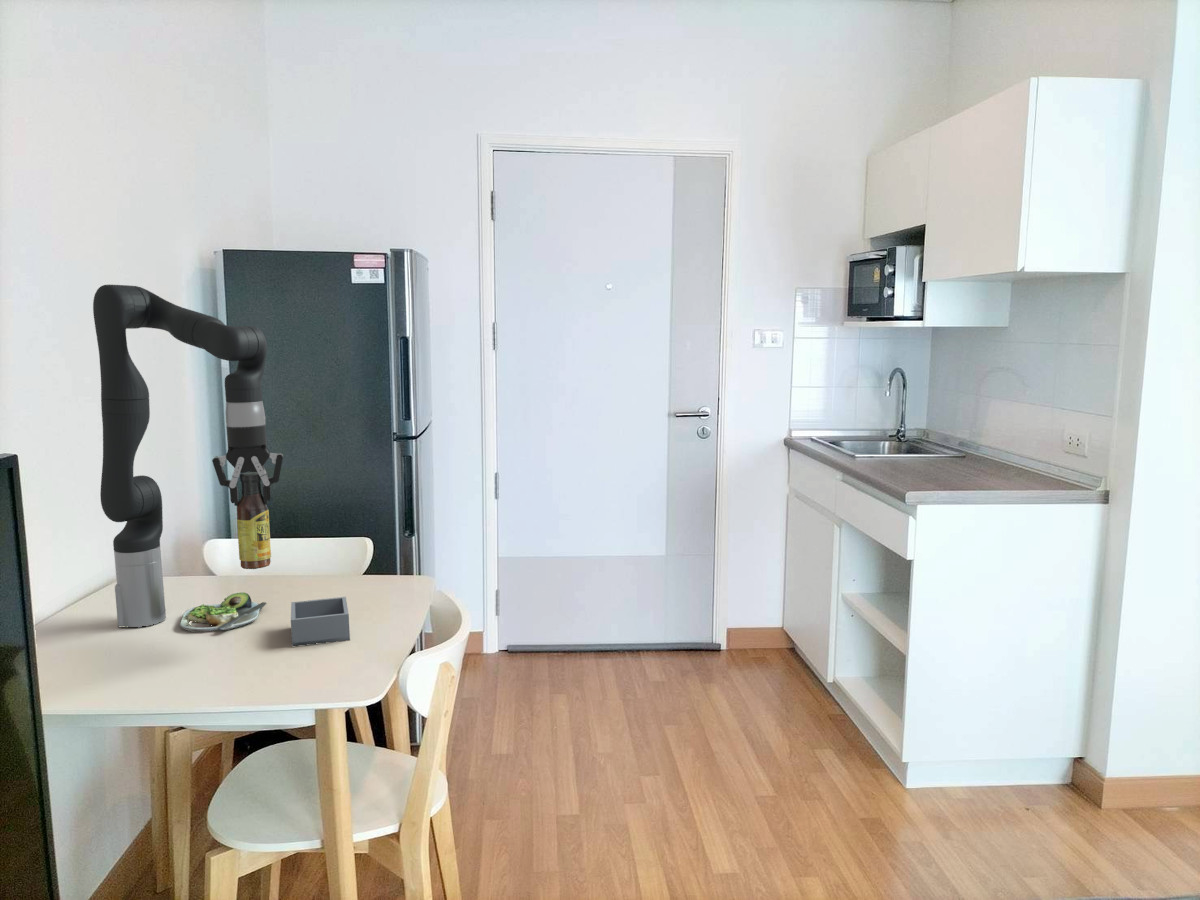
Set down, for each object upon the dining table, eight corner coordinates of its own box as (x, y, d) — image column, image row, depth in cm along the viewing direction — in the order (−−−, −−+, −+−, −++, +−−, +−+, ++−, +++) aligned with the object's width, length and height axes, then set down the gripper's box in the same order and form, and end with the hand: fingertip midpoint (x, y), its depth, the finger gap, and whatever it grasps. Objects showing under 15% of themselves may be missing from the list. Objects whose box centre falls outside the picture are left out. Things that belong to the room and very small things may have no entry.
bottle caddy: (292, 646, 180) (290, 620, 179) (292, 627, 192) (291, 602, 191) (349, 640, 184) (348, 614, 183) (346, 621, 196) (345, 596, 195)
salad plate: (261, 633, 190) (260, 612, 189) (172, 641, 184) (171, 621, 184) (268, 606, 208) (267, 587, 207) (187, 613, 203) (185, 594, 202)
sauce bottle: (264, 570, 179) (257, 476, 176) (234, 570, 179) (227, 476, 176) (277, 562, 185) (270, 471, 183) (248, 562, 186) (241, 471, 183)
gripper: (206, 427, 172) (212, 510, 175) (282, 423, 177) (287, 504, 179) (209, 423, 179) (215, 503, 182) (283, 420, 184) (288, 498, 186)
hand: (251, 503), depth 180 cm, fingers closed on sauce bottle, 5 cm apart
